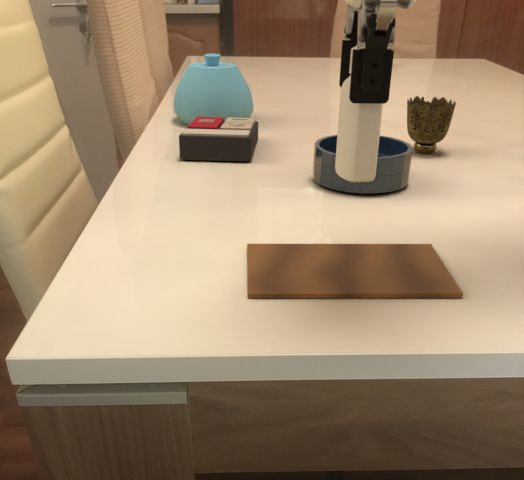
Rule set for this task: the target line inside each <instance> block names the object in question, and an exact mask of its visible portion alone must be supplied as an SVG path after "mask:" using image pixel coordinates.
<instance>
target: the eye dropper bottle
mask: <svg viewBox="0 0 524 480" xmlns="http://www.w3.org/2000/svg"><path fill="white" fill-rule="evenodd" d="M353 49H357V46H355V47H353V48H352V49H351V56H350V69H349V73H350V74H351V67H352V55H353ZM350 80H351V75H350V76H349V78H347V79H346V80H345V81H344V82H343V84H342V87H340V95H339V105H338V121H337V134H336V135H337V148H336V162H335V170H336V173H337V174H338V175H339V176H340V177H342V178H343V179H345V180H347V181H350V182H369V181H373V180H374V179H375V175H376V166H377V157H378V147H379V138H380V135H381V127H382V117H383V106H384V104H367V103H352V102H351V101H350V99H349V93H350Z"/></svg>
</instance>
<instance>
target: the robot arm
mask: <svg viewBox="0 0 524 480" xmlns="http://www.w3.org/2000/svg"><path fill="white" fill-rule="evenodd" d="M342 1H343V2H344V3H346V11H345V19H344V20H345V21H344V29H343V39H342V41H341V51H340V53H341V56H340V67H339V80H338V81H339V82H338V84H339V87H340V88H341V87H342V84H343V82H344V81H345V80H346V79H347V78H349V76H350V75H351V80H350V93H349V99H350V101H351V102H352V103H367V104H383V105H384V104H386V103H388V102H389V100H390V91H391V82H392V75H393V64H394V55H395V50H394V48H395V40H396V23H397V22H396V21H397V20H396V17H397V14H396V13H397V8H400V9H403V10H410V9H411V8H412V7H413V6H414V5H415V4H416V2H417V0H342ZM355 46H357V49H353V55H352V67H351V74H350V73H349V69H350V56H351V49H352V48H353V47H355Z"/></svg>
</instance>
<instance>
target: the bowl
mask: <svg viewBox="0 0 524 480" xmlns="http://www.w3.org/2000/svg"><path fill="white" fill-rule="evenodd" d="M313 146H314V147H313V164H312V178H313V181H314V182H316V183H317V184H318V185H319V186H322V187H325V188H327V189H331V190H335V191H338V192H343V193H350V194H359V195H360V194H361V195H371V194H372V195H373V194H384V193H391V192H394V191H399V190H402V189H403V188H404V187H406V186H408V183H409V181H410V180H409V179H410V173H411V166H412V165H411V164H412V158H413V150H414V147H413V146H412V145H411V144H410V143H409V142H407V141H405V140H402V139H399V138H395V137H392V136H386V135H381V134H380V138H379V147H378V157H377V166H376V175H375V179H374V180H373V181H369V182H350V181H347V180H345V179H343V178H342V177H340V176H339V175H338V174H337V173H336V170H335V162H336V148H337V134H333V135H328V136H327V135H326V136H324V137H321V138H318V139H317V140H316V141H315V142H314V143H313Z"/></svg>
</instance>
